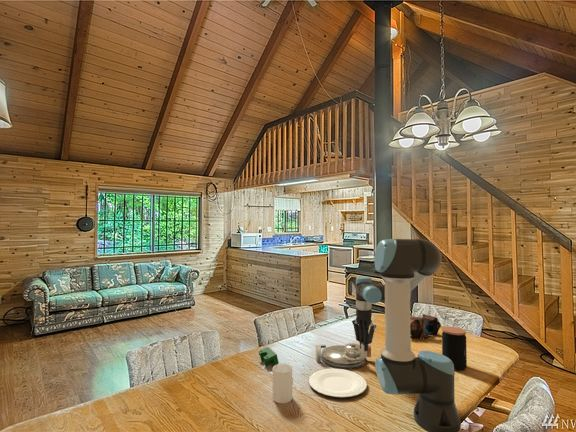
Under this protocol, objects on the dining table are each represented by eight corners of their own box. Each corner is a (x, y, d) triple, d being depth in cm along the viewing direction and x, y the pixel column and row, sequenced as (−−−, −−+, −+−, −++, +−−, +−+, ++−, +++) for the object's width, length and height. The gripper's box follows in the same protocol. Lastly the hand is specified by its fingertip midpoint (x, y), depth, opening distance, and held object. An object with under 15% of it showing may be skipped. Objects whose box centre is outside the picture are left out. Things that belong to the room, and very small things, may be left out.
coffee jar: (470, 372, 151) (469, 334, 151) (445, 370, 153) (445, 332, 154) (462, 362, 161) (461, 327, 162) (439, 361, 164) (439, 325, 164)
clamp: (262, 369, 164) (256, 351, 167) (273, 364, 167) (267, 346, 169) (269, 369, 154) (262, 350, 156) (280, 363, 156) (273, 345, 159)
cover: (354, 362, 155) (354, 351, 155) (339, 356, 162) (339, 345, 162) (366, 357, 161) (366, 345, 161) (350, 351, 168) (350, 340, 168)
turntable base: (345, 374, 148) (345, 357, 149) (309, 359, 165) (309, 343, 166) (374, 359, 165) (374, 344, 165) (339, 347, 182) (339, 333, 182)
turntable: (321, 363, 156) (321, 352, 157) (322, 346, 178) (322, 336, 178) (373, 366, 153) (373, 354, 153) (368, 349, 175) (368, 338, 175)
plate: (321, 405, 124) (321, 400, 124) (301, 376, 148) (301, 371, 148) (378, 396, 130) (378, 391, 130) (350, 369, 155) (350, 365, 155)
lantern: (429, 342, 207) (402, 347, 195) (416, 319, 217) (390, 322, 204) (447, 331, 197) (420, 335, 184) (432, 307, 207) (406, 310, 194)
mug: (284, 386, 138) (284, 358, 138) (296, 400, 127) (296, 370, 127) (266, 390, 134) (266, 361, 135) (276, 405, 123) (276, 373, 124)
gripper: (379, 309, 155) (379, 358, 154) (357, 304, 164) (357, 350, 164) (370, 312, 150) (371, 363, 149) (348, 307, 159) (348, 354, 159)
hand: (364, 356), depth 156 cm, fingers closed
